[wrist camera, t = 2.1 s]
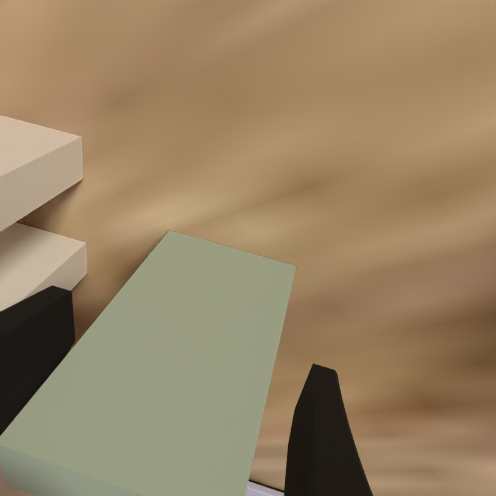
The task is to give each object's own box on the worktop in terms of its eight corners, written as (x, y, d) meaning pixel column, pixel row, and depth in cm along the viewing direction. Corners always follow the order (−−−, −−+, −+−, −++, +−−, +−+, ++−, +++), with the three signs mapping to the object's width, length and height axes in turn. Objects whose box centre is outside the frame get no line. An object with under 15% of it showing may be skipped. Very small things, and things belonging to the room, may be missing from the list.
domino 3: (286, 298, 16) (225, 562, 8) (166, 263, 16) (5, 484, 9) (296, 265, 15) (237, 527, 8) (169, 230, 16) (-6, 443, 8)
